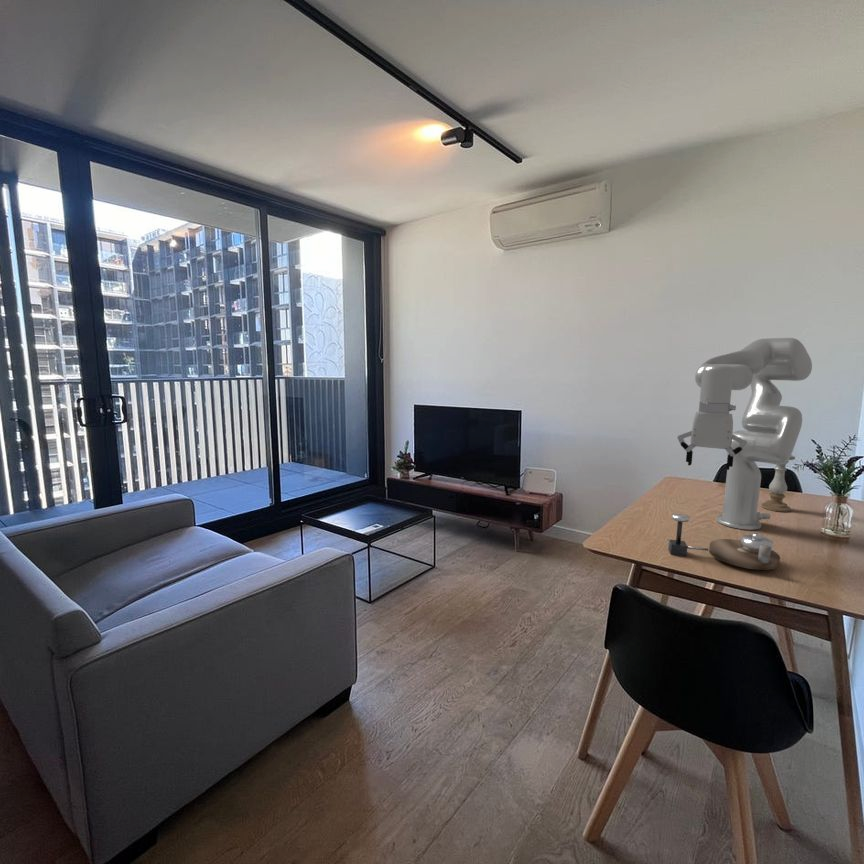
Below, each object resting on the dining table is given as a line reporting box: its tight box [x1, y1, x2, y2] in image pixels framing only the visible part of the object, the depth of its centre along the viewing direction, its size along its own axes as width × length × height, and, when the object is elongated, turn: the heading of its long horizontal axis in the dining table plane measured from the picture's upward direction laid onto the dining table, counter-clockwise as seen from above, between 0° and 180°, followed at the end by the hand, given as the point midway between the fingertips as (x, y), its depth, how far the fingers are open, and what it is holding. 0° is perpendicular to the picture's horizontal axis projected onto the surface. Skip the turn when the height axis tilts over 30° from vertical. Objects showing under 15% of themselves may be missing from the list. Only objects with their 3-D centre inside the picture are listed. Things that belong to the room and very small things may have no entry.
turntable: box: [708, 538, 781, 571], centre depth 126 cm, size 16×16×6 cm
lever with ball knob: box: [667, 512, 709, 558], centre depth 130 cm, size 10×4×11 cm, turn 72°
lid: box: [740, 532, 774, 555], centre depth 127 cm, size 7×7×4 cm
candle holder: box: [761, 454, 796, 513], centre depth 171 cm, size 9×9×20 cm
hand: (708, 466), depth 135 cm, fingers open, 9 cm apart
